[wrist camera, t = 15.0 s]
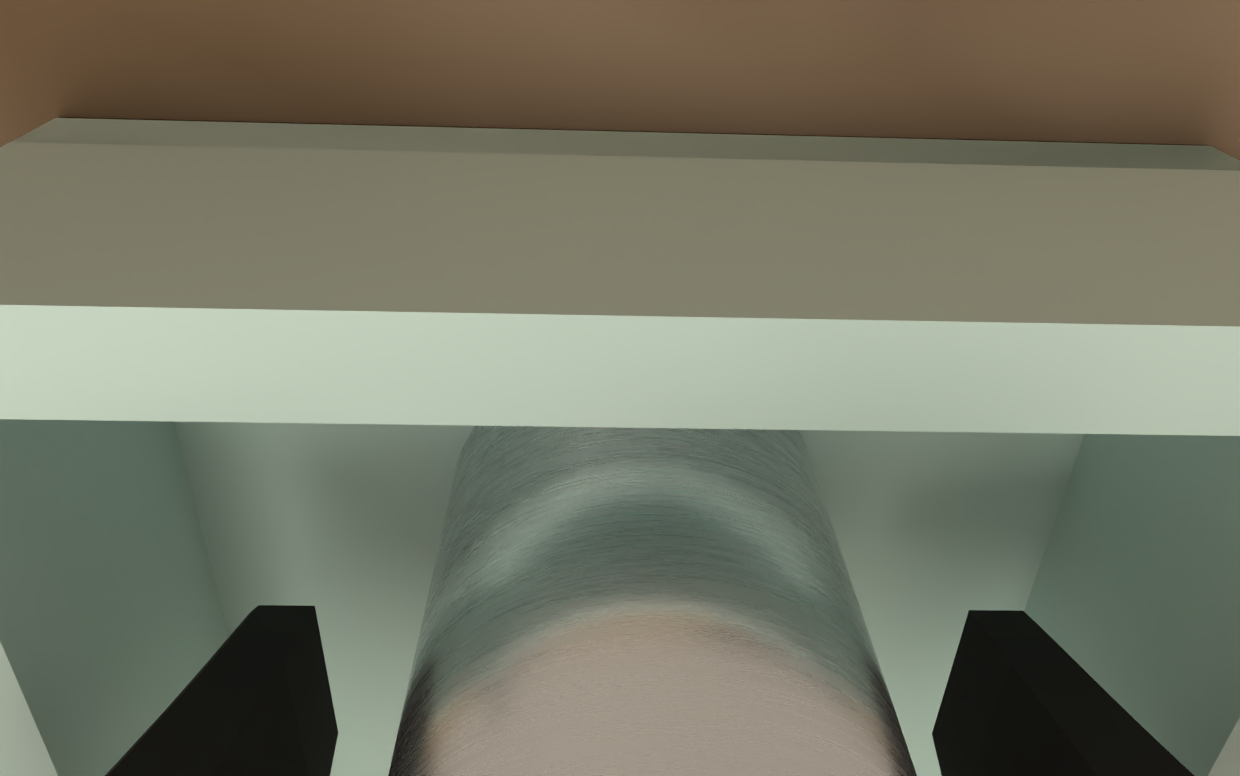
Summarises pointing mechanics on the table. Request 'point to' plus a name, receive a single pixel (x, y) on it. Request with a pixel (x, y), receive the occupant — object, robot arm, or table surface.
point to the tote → (605, 391)
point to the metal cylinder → (643, 615)
